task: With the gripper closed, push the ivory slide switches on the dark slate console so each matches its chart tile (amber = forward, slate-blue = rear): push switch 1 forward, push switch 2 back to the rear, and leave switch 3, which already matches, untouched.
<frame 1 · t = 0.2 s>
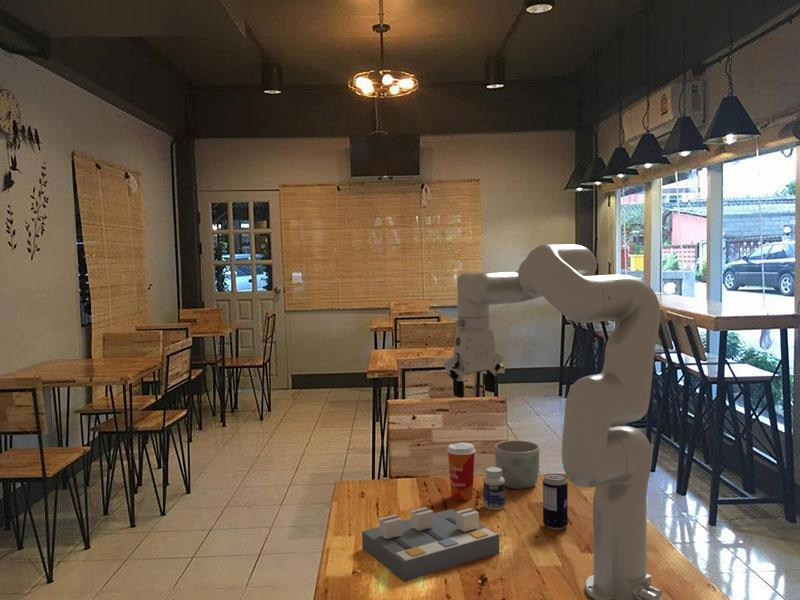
hand: (474, 394, 163), 31 cm above the table, fingers open, 9 cm apart
console: (430, 550, 147), on the table
beverage can: (555, 527, 159), on the table
slider 3: (390, 526, 145), point 6 cm above the table, slide at 6.0 cm
planter: (517, 485, 189), on the table
slider 1: (467, 519, 148), point 6 cm above the table, slide at 0.0 cm
paper cup: (462, 498, 180), on the table
pill bottle: (494, 507, 172), on the table
slider 2: (422, 518, 149), point 6 cm above the table, slide at 6.0 cm
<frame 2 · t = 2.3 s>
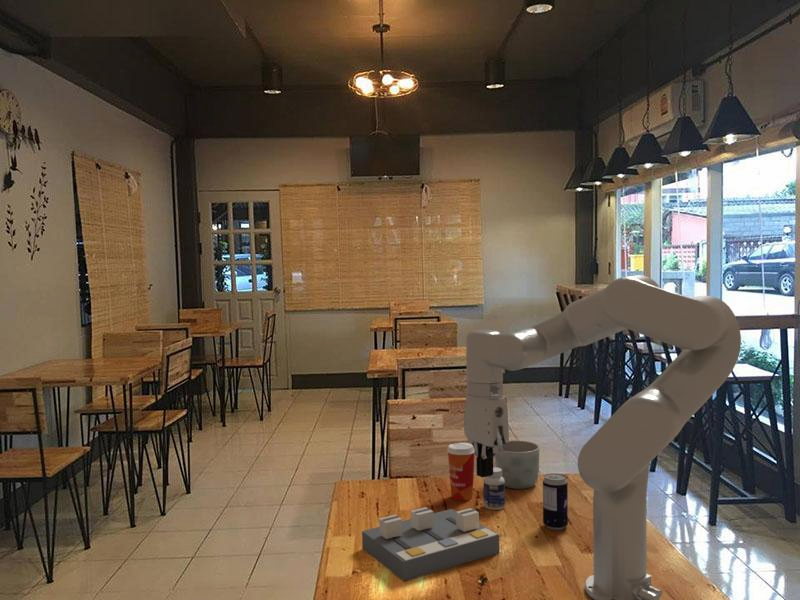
hand: (484, 475, 142), 18 cm above the table, fingers closed
nothing on the table moved.
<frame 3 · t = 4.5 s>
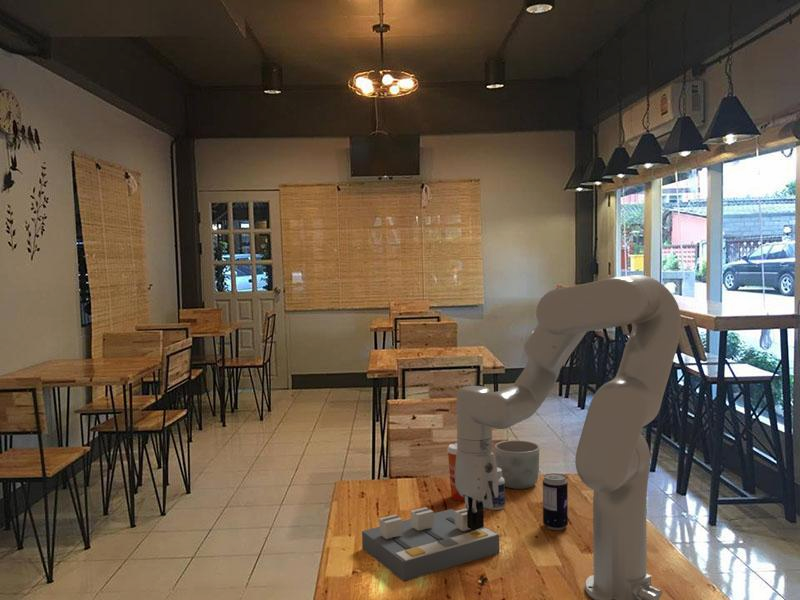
hand: (475, 527, 146), 5 cm above the table, fingers closed
slider 1: (466, 518, 149), point 6 cm above the table, slide at 0.5 cm, touching gripper
everything else where it was.
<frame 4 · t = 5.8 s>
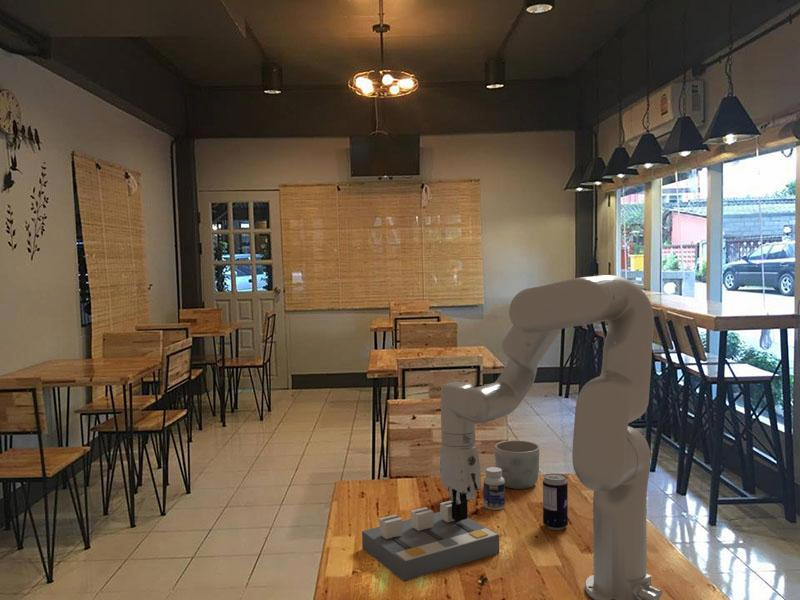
hand: (459, 518, 151), 5 cm above the table, fingers closed
slider 1: (451, 510, 154), point 6 cm above the table, slide at 6.3 cm, touching gripper
everything else where it was.
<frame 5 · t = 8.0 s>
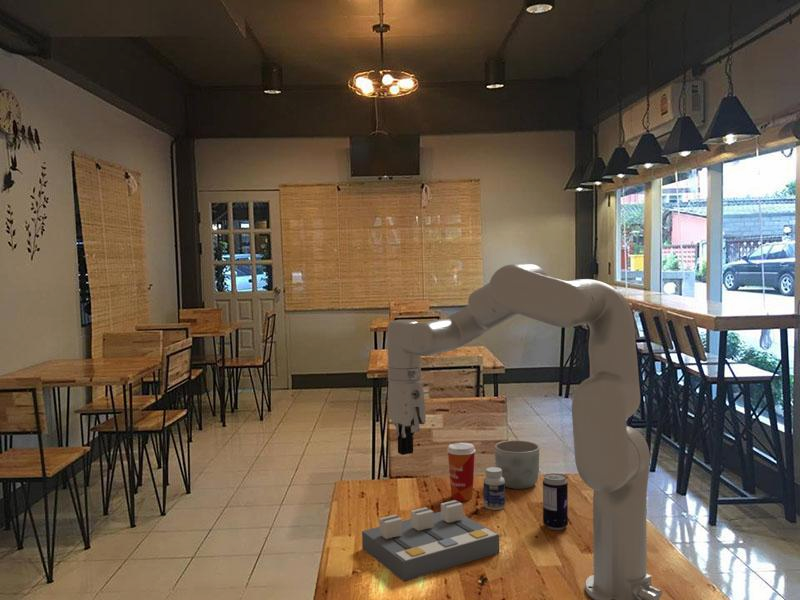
hand: (405, 453, 155), 19 cm above the table, fingers closed
slider 1: (451, 510, 153), point 6 cm above the table, slide at 6.1 cm
everything else where it was.
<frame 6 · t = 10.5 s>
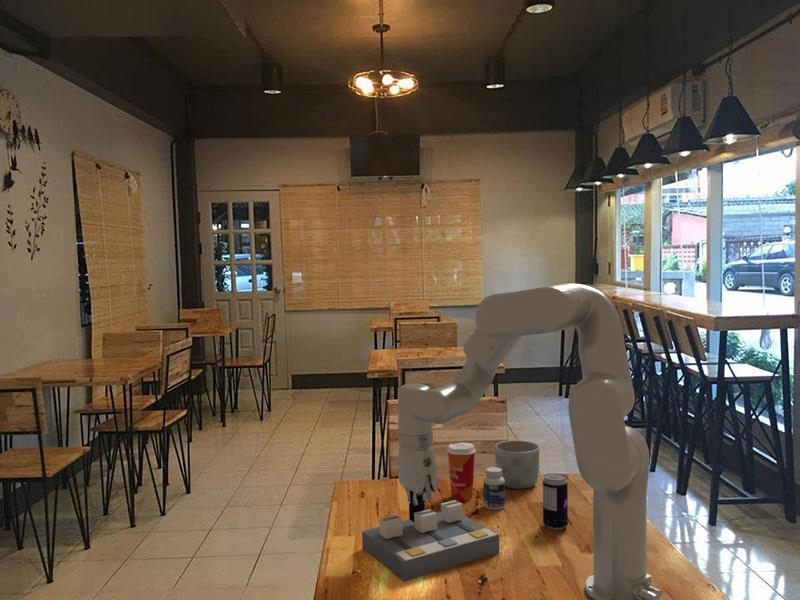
hand: (417, 519, 151), 5 cm above the table, fingers closed
slider 2: (425, 520, 148), point 6 cm above the table, slide at 4.6 cm, touching gripper
everything else where it was.
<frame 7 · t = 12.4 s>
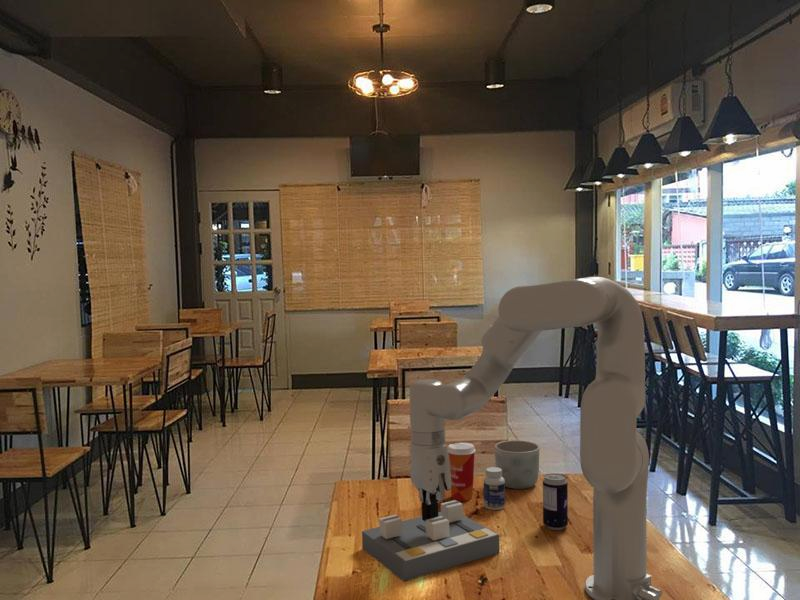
hand: (430, 519, 147), 7 cm above the table, fingers closed
slider 2: (437, 527, 144), point 6 cm above the table, slide at -0.2 cm, touching gripper
everything else where it was.
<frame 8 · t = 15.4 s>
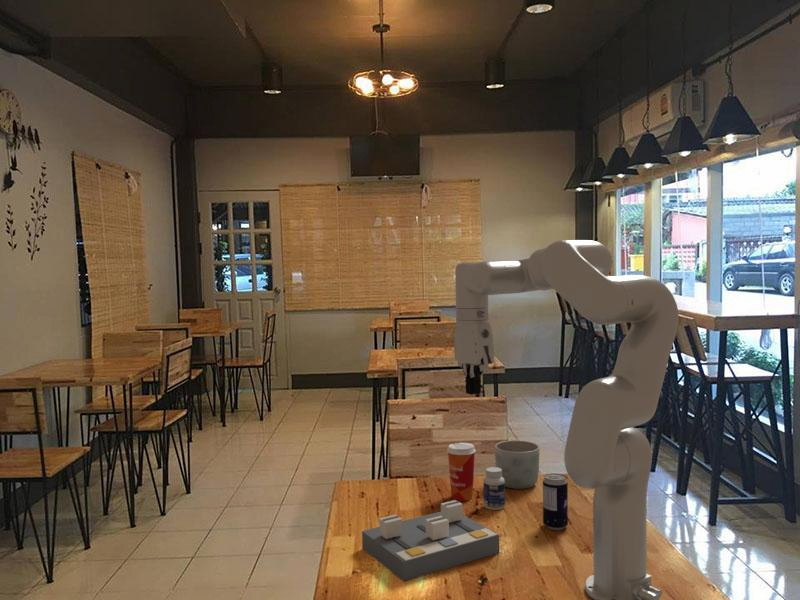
hand: (473, 393, 158), 32 cm above the table, fingers closed
slider 2: (437, 527, 144), point 6 cm above the table, slide at -0.1 cm
everything else where it was.
at the end: slider 1 slide at 6.1 cm; slider 2 slide at -0.1 cm; slider 3 slide at 6.0 cm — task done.
